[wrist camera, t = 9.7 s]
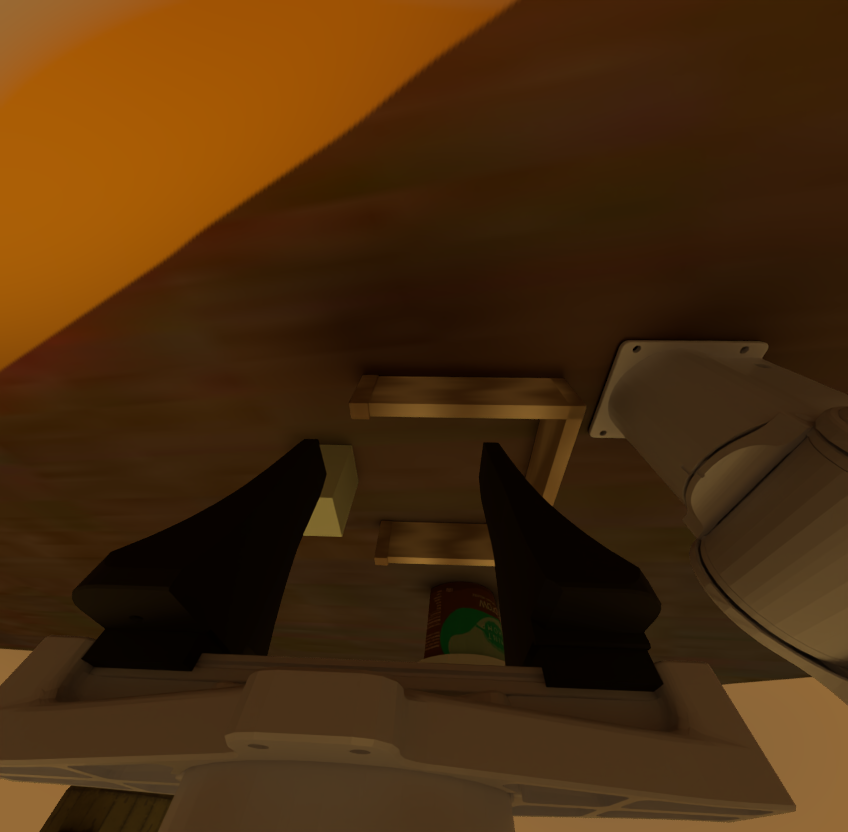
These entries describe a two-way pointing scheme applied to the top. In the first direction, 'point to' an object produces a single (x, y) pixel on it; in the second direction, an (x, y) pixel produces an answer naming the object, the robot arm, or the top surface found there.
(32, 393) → the top surface
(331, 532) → the sage block
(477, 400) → the open crate
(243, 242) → the top surface
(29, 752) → the robot arm
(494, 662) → the food container
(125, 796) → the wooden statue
